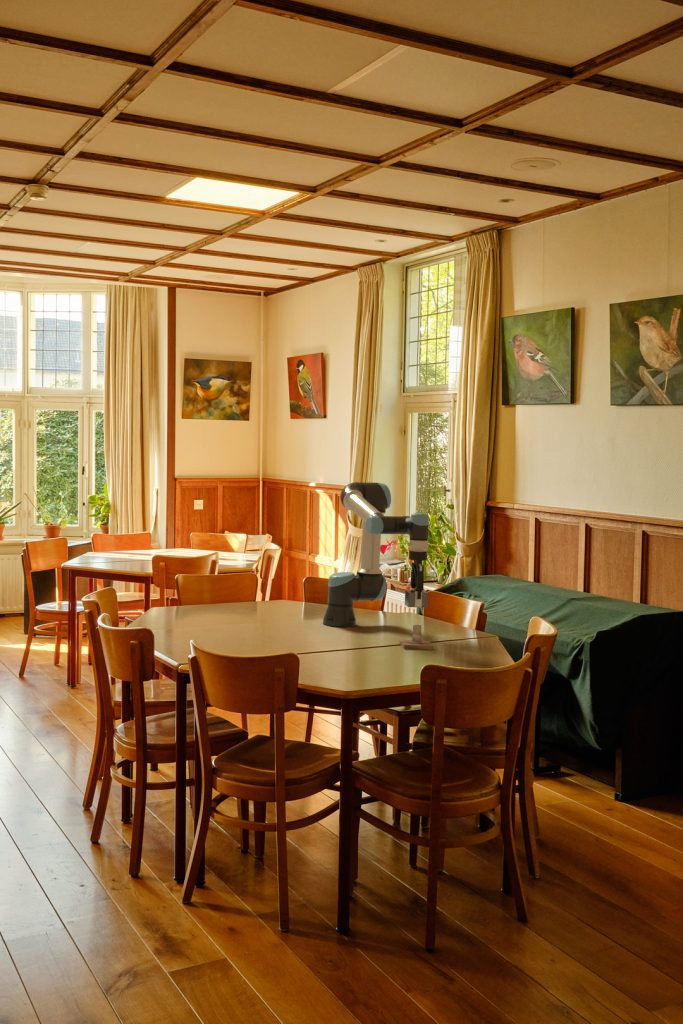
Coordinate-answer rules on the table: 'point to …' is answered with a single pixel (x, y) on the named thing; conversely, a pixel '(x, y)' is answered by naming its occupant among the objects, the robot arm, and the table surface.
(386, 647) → the table surface
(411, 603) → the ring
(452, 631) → the table surface
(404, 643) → the post block
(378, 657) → the table surface
